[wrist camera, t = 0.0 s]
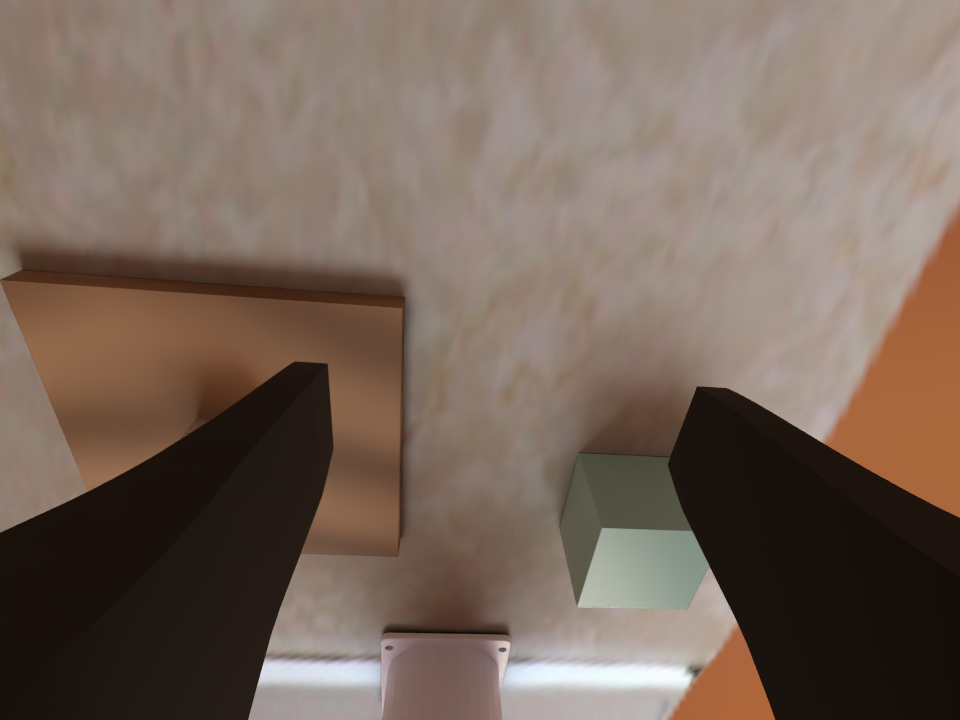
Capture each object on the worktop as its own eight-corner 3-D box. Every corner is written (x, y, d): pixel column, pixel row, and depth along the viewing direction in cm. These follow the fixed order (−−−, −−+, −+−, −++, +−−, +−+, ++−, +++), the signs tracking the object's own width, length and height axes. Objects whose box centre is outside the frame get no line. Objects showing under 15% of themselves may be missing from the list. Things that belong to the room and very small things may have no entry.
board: (400, 540, 26) (398, 556, 25) (123, 531, 25) (111, 547, 24) (404, 297, 19) (402, 308, 18) (21, 270, 18) (-1, 280, 17)
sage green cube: (653, 531, 27) (687, 609, 23) (559, 527, 26) (577, 607, 22) (682, 457, 24) (726, 532, 20) (578, 453, 24) (602, 528, 20)
